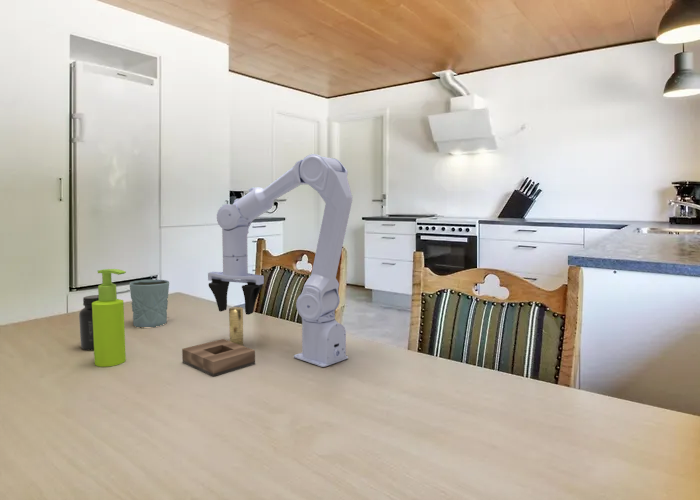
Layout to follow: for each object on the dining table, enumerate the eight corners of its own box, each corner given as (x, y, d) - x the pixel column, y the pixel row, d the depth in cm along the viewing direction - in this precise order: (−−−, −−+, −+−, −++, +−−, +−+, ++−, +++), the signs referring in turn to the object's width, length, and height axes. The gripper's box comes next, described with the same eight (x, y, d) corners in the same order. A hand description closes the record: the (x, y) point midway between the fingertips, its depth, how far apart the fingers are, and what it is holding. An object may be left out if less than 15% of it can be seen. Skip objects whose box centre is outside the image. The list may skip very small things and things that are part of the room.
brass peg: (246, 345, 110) (245, 308, 110) (234, 347, 108) (234, 310, 107) (238, 342, 113) (237, 306, 112) (227, 345, 110) (226, 308, 109)
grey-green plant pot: (122, 326, 126) (121, 283, 124) (148, 318, 135) (147, 278, 134) (153, 330, 123) (152, 285, 122) (177, 321, 132) (176, 280, 131)
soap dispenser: (117, 368, 94) (113, 271, 92) (88, 365, 95) (83, 270, 93) (136, 359, 100) (132, 268, 98) (108, 356, 101) (104, 267, 99)
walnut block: (255, 363, 97) (254, 350, 97) (213, 376, 90) (213, 361, 90) (223, 351, 105) (223, 338, 105) (182, 362, 98) (182, 348, 97)
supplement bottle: (119, 342, 111) (117, 294, 110) (101, 351, 105) (99, 299, 103) (93, 341, 112) (91, 293, 111) (73, 350, 105) (71, 299, 104)
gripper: (270, 255, 109) (270, 311, 111) (220, 252, 115) (221, 305, 116) (254, 258, 103) (254, 318, 104) (201, 255, 108) (202, 311, 109)
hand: (235, 312), depth 109 cm, fingers open, 7 cm apart
